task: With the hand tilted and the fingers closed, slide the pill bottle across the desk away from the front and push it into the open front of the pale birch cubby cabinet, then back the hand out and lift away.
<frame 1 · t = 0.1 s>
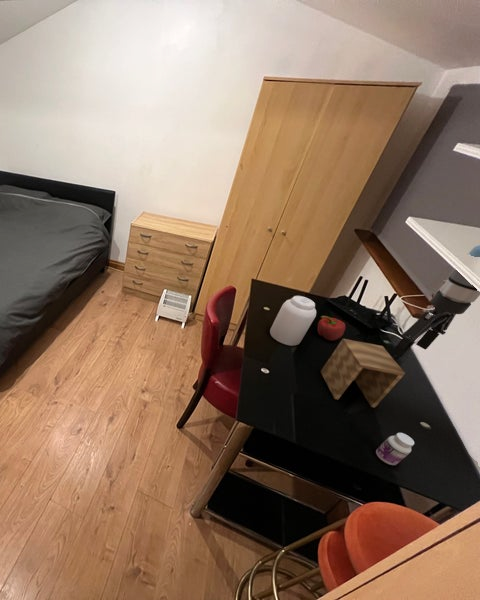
hand: (408, 350, 106), 22 cm above the table, tool pointing down, fingers open, 13 cm apart
white jar: (284, 337, 145), on the table
cubby: (346, 388, 120), on the table
vegetable: (324, 336, 147), on the table
pill bottle: (385, 457, 98), on the table
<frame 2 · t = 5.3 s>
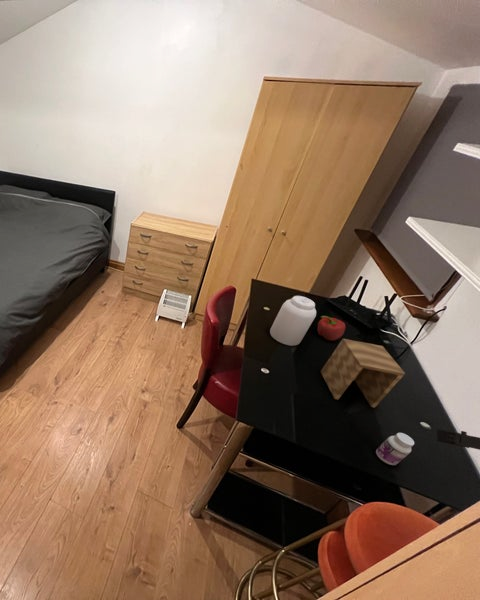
hand: (465, 441, 77), 23 cm above the table, tool tilted 45°, fingers open, 10 cm apart
nothing on the table moved.
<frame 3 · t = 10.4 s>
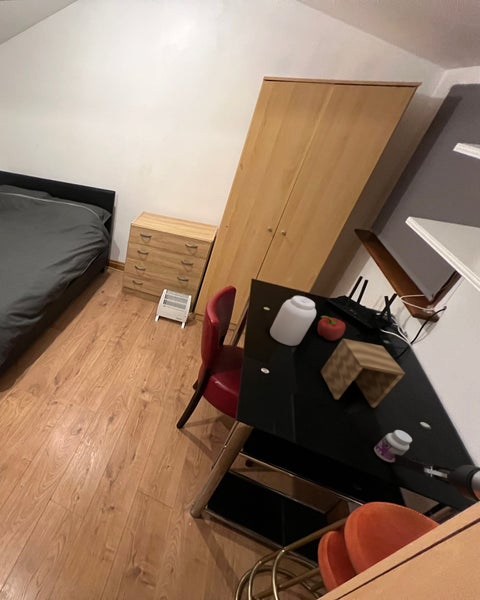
hand: (397, 459, 93), 4 cm above the table, tool tilted 45°, fingers closed
pill bottle: (383, 454, 98), on the table, touching gripper
everything else where it was.
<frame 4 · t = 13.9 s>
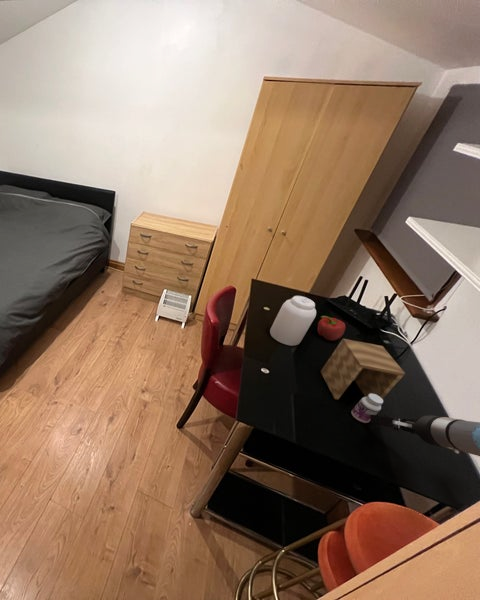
hand: (373, 419, 105), 4 cm above the table, tool tilted 45°, fingers closed
pill bottle: (359, 417, 110), on the table, touching gripper
everything else where it was.
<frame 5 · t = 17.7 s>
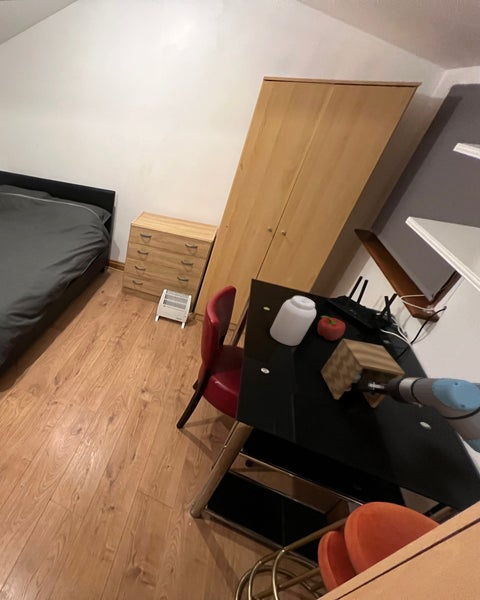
hand: (353, 387, 116), 4 cm above the table, tool tilted 45°, fingers closed
pill bottle: (341, 386, 122), resting in cubby, touching gripper
everything else where it was.
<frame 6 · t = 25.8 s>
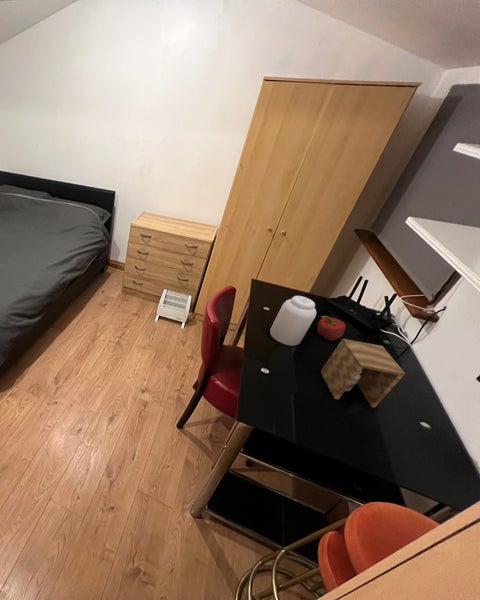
pill bottle: (341, 386, 122), resting in cubby
everything else where it was.
at the end: pill bottle inside the target area on the cubby (1.4 cm from its centre), point 0.0 cm above the cubby's base; pill bottle tilted 0° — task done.
